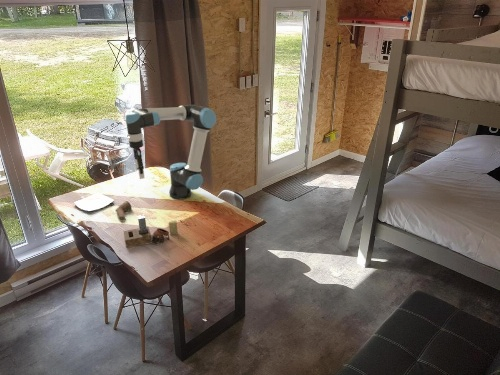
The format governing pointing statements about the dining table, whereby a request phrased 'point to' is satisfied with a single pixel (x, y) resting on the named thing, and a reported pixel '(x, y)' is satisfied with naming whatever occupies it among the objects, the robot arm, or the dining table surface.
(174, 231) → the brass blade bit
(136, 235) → the socket block
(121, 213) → the pipe
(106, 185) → the dining table surface
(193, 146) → the robot arm
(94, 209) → the plate
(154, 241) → the pottery mug
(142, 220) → the square steel bit
